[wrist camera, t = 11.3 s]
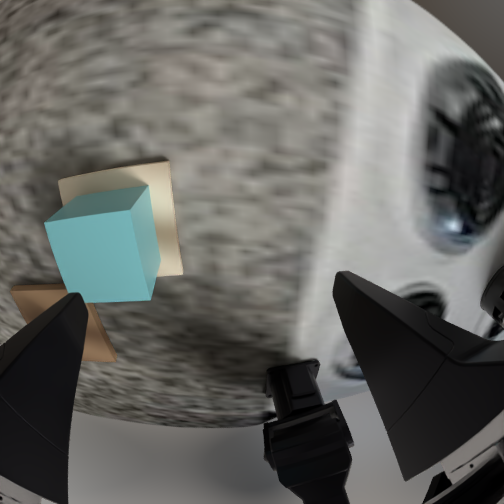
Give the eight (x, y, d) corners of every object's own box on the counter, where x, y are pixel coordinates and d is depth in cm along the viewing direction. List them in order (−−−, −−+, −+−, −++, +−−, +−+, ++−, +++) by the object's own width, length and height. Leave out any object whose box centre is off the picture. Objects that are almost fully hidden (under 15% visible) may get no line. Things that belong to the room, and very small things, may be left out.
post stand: (117, 355, 26) (107, 399, 21) (50, 351, 25) (35, 388, 20) (84, 282, 21) (60, 327, 16) (14, 285, 20) (-13, 322, 15)
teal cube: (160, 259, 21) (150, 300, 16) (94, 265, 20) (72, 303, 15) (148, 185, 18) (130, 210, 13) (76, 196, 17) (44, 222, 13)
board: (183, 270, 22) (182, 274, 21) (87, 277, 21) (85, 281, 20) (169, 160, 18) (167, 161, 17) (61, 178, 16) (57, 180, 16)
